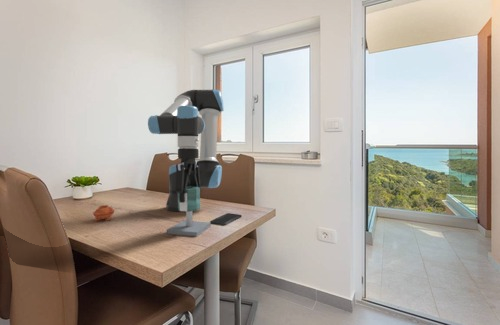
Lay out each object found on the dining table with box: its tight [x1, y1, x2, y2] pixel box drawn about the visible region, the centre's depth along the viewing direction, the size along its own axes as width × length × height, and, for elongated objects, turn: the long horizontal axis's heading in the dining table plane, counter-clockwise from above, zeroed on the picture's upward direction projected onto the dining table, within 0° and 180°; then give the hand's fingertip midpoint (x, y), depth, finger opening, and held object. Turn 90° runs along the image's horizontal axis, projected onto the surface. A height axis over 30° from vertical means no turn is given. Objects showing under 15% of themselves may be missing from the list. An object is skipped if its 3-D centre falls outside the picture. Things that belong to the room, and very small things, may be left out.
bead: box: [178, 186, 201, 213], centre depth 94 cm, size 8×8×8 cm
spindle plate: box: [166, 211, 211, 237], centre depth 94 cm, size 12×12×15 cm
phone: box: [209, 212, 243, 226], centre depth 108 cm, size 8×1×15 cm
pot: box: [93, 205, 115, 222], centre depth 108 cm, size 8×8×7 cm
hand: (189, 208), depth 94 cm, fingers closed on bead, 8 cm apart
